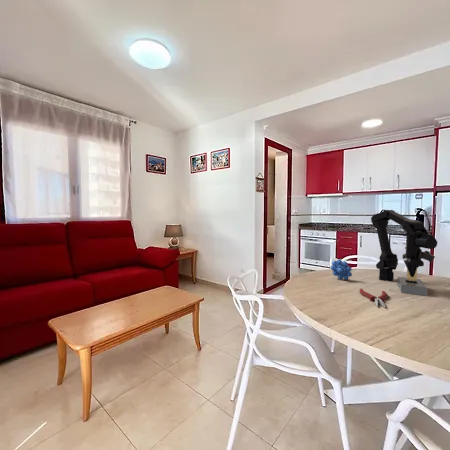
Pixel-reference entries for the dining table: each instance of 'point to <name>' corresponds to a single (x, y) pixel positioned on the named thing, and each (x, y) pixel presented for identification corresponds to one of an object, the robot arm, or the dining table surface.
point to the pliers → (373, 298)
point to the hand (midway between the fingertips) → (411, 276)
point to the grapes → (341, 269)
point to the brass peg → (411, 277)
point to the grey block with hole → (412, 286)
